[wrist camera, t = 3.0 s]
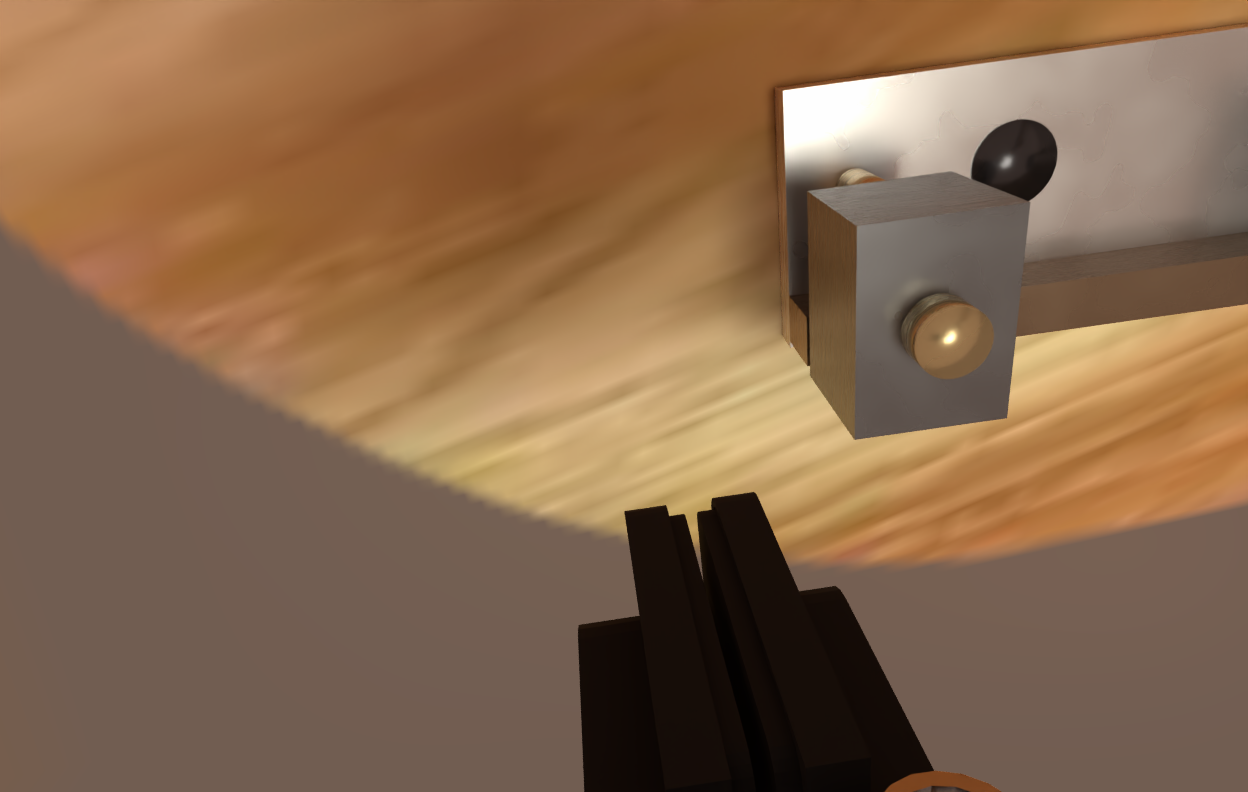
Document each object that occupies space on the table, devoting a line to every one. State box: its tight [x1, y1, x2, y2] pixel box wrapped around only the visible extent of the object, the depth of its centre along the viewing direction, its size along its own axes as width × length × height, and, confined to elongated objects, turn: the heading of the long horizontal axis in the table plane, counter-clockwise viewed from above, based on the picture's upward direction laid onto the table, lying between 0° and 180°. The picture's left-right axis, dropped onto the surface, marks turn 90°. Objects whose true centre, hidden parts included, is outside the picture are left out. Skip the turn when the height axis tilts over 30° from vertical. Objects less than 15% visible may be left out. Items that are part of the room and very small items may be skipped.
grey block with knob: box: [807, 168, 1030, 440], centre depth 21 cm, size 4×6×7 cm
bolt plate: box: [774, 23, 1248, 366], centre depth 22 cm, size 24×8×7 cm, turn 97°
